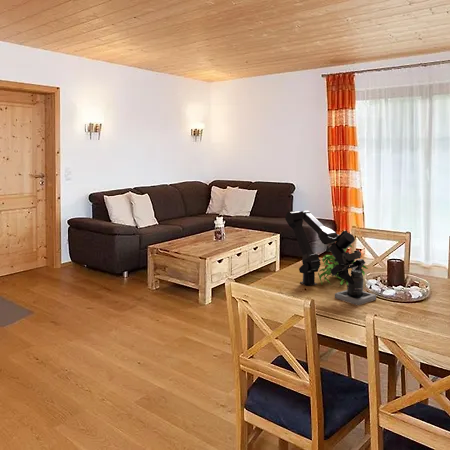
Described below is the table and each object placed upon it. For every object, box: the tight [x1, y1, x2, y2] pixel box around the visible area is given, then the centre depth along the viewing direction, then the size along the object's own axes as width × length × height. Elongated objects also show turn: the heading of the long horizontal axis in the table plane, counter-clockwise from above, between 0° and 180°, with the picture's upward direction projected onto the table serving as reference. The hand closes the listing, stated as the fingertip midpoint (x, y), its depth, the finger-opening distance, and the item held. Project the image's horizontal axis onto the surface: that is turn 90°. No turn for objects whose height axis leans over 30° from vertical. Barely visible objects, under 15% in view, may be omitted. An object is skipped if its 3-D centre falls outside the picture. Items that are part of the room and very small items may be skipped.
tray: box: [334, 289, 377, 306], centre depth 206 cm, size 13×13×2 cm
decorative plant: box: [317, 244, 369, 286], centre depth 233 cm, size 26×25×30 cm
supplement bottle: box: [346, 269, 365, 298], centre depth 205 cm, size 7×7×12 cm
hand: (358, 282), depth 204 cm, fingers closed on supplement bottle, 7 cm apart
